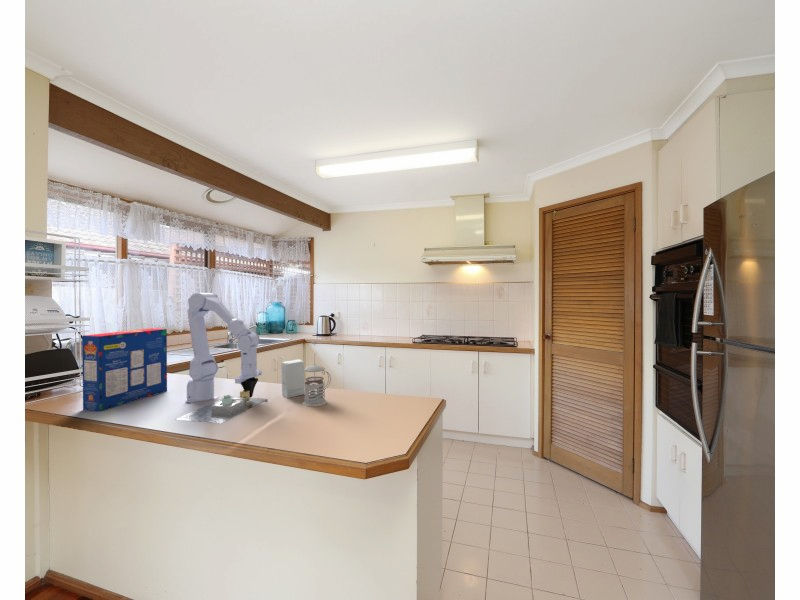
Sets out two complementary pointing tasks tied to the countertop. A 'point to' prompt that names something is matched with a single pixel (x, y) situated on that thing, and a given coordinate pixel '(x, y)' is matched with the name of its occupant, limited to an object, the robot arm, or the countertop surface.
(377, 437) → the countertop surface
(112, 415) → the countertop surface
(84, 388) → the blue flat upright box
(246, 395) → the pin
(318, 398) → the french press
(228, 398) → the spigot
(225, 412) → the dock
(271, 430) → the countertop surface
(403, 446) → the countertop surface
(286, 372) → the skincare box
